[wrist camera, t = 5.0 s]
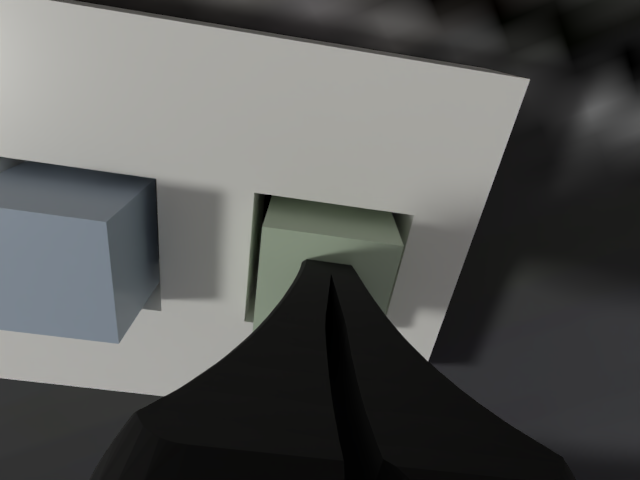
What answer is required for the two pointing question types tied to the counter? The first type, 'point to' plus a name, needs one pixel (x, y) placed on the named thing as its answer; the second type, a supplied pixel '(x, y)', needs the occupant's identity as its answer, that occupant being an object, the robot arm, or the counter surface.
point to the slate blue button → (75, 250)
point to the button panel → (242, 165)
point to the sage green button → (324, 247)
